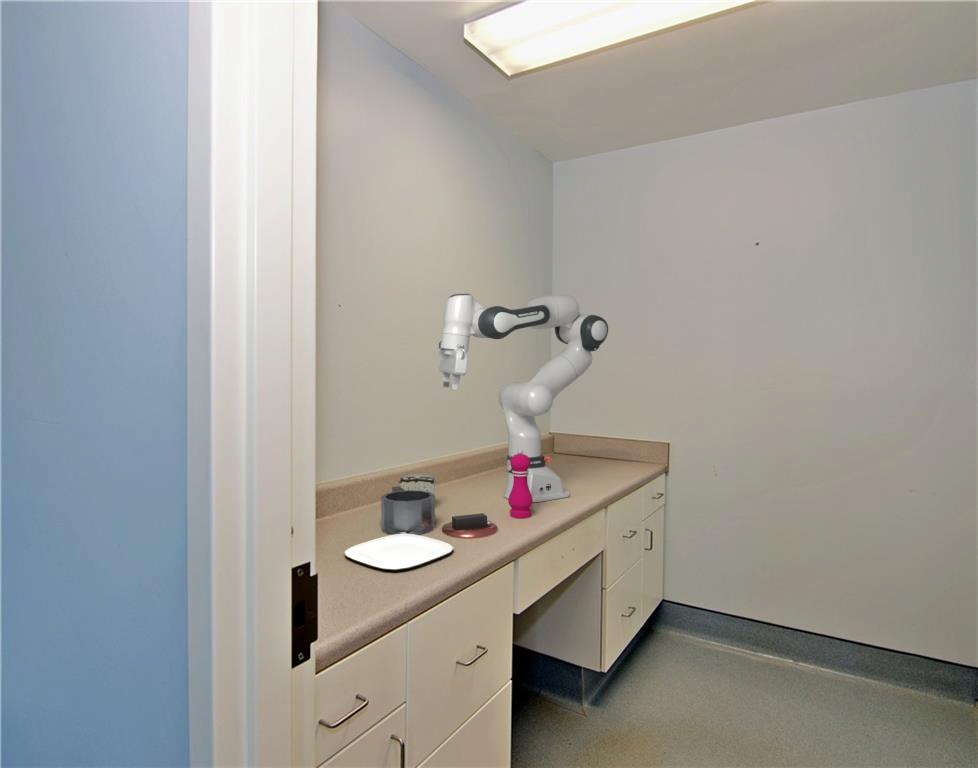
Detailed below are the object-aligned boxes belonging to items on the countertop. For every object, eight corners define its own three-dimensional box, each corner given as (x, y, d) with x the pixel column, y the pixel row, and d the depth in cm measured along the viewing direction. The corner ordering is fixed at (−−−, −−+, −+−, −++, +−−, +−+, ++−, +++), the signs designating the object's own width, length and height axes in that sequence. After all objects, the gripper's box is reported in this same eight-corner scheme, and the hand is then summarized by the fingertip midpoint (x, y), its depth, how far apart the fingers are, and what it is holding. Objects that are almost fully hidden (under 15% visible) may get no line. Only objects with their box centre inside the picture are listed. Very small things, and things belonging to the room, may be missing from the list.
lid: (485, 521, 160) (485, 507, 160) (506, 536, 147) (506, 520, 146) (435, 527, 155) (435, 512, 155) (452, 543, 141) (451, 526, 141)
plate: (403, 536, 147) (403, 530, 147) (464, 553, 133) (464, 546, 133) (333, 558, 130) (333, 551, 130) (395, 580, 116) (394, 572, 116)
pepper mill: (515, 511, 170) (515, 446, 170) (536, 514, 166) (536, 448, 166) (503, 516, 164) (503, 449, 163) (525, 520, 160) (525, 451, 160)
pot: (419, 512, 169) (418, 483, 169) (440, 532, 149) (440, 499, 148) (372, 517, 164) (372, 487, 164) (388, 538, 143) (387, 503, 143)
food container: (440, 505, 179) (440, 474, 178) (436, 510, 173) (436, 477, 172) (402, 504, 180) (402, 473, 180) (397, 509, 174) (397, 477, 174)
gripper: (474, 346, 166) (468, 391, 166) (455, 345, 185) (450, 386, 186) (454, 343, 164) (448, 389, 164) (437, 343, 183) (432, 384, 184)
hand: (449, 388), depth 175 cm, fingers open, 8 cm apart
